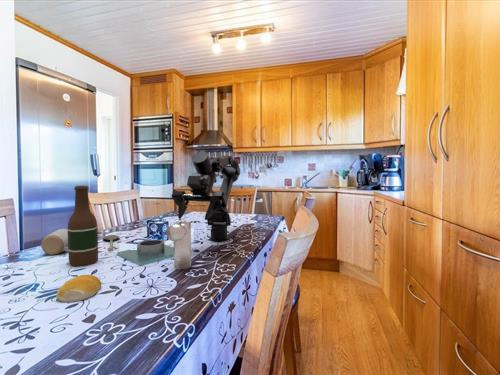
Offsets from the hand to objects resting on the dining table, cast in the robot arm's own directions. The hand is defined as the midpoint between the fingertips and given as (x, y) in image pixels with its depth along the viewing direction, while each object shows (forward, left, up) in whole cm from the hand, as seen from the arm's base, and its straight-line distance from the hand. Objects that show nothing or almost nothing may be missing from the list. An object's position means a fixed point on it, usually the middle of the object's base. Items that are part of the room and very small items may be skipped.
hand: (192, 218), depth 85 cm
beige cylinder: (+25, -42, -13) cm, 50 cm away
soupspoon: (+9, -40, -14) cm, 43 cm away
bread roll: (+32, 0, -14) cm, 35 cm away
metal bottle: (+7, +4, -13) cm, 15 cm away
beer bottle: (+24, -23, -13) cm, 36 cm away
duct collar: (+6, -15, -13) cm, 21 cm away
